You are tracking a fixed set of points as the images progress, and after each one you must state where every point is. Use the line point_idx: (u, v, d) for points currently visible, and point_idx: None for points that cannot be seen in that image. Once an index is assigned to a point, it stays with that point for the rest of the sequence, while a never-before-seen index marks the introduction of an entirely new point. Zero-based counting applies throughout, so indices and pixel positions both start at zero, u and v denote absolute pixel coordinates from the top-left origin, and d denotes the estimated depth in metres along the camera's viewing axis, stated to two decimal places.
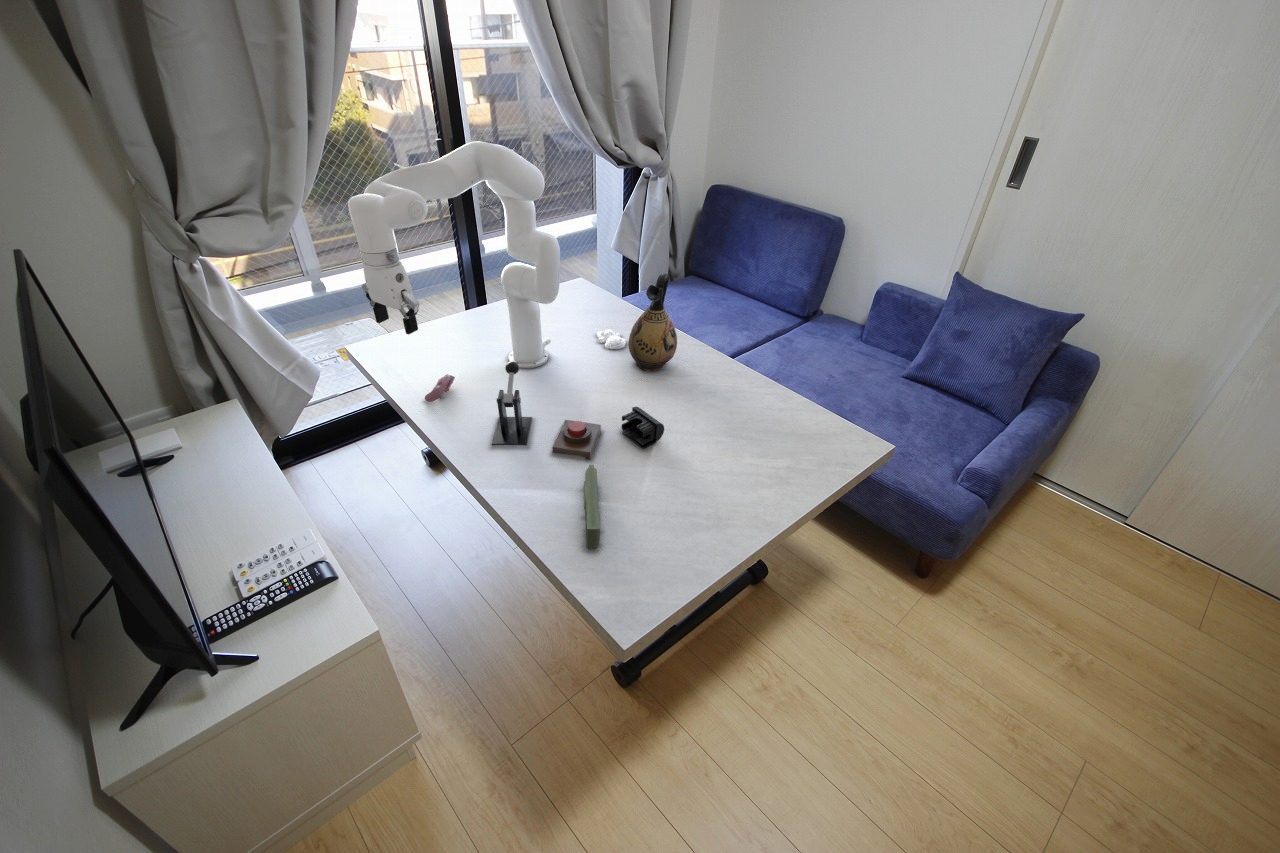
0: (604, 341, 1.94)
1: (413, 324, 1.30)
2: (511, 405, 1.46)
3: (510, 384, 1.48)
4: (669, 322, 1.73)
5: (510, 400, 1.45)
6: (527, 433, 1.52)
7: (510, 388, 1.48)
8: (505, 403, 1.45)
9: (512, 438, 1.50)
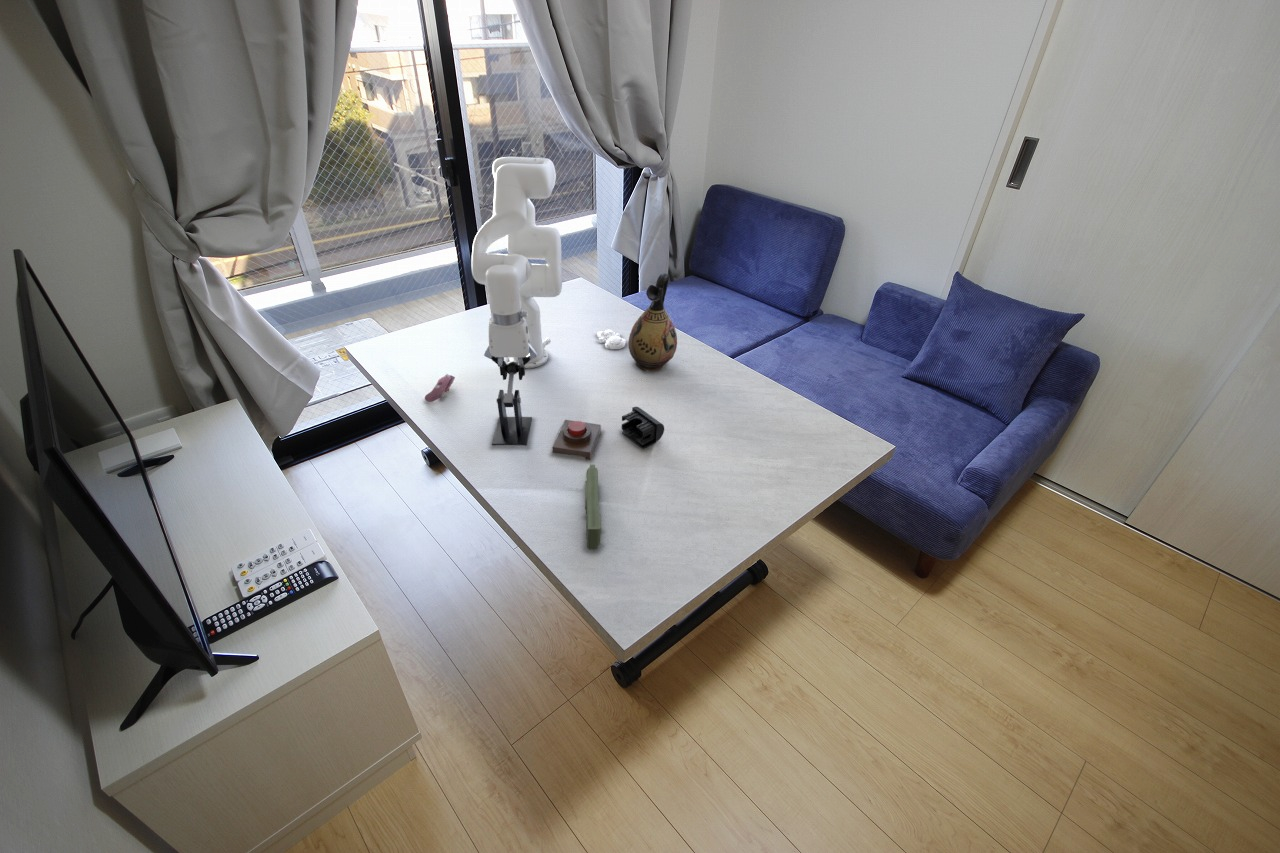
0: (604, 341, 1.94)
1: (524, 370, 1.52)
2: (511, 405, 1.46)
3: (510, 384, 1.48)
4: (669, 322, 1.73)
5: (510, 400, 1.45)
6: (527, 433, 1.52)
7: (510, 388, 1.48)
8: (505, 403, 1.45)
9: (512, 438, 1.50)
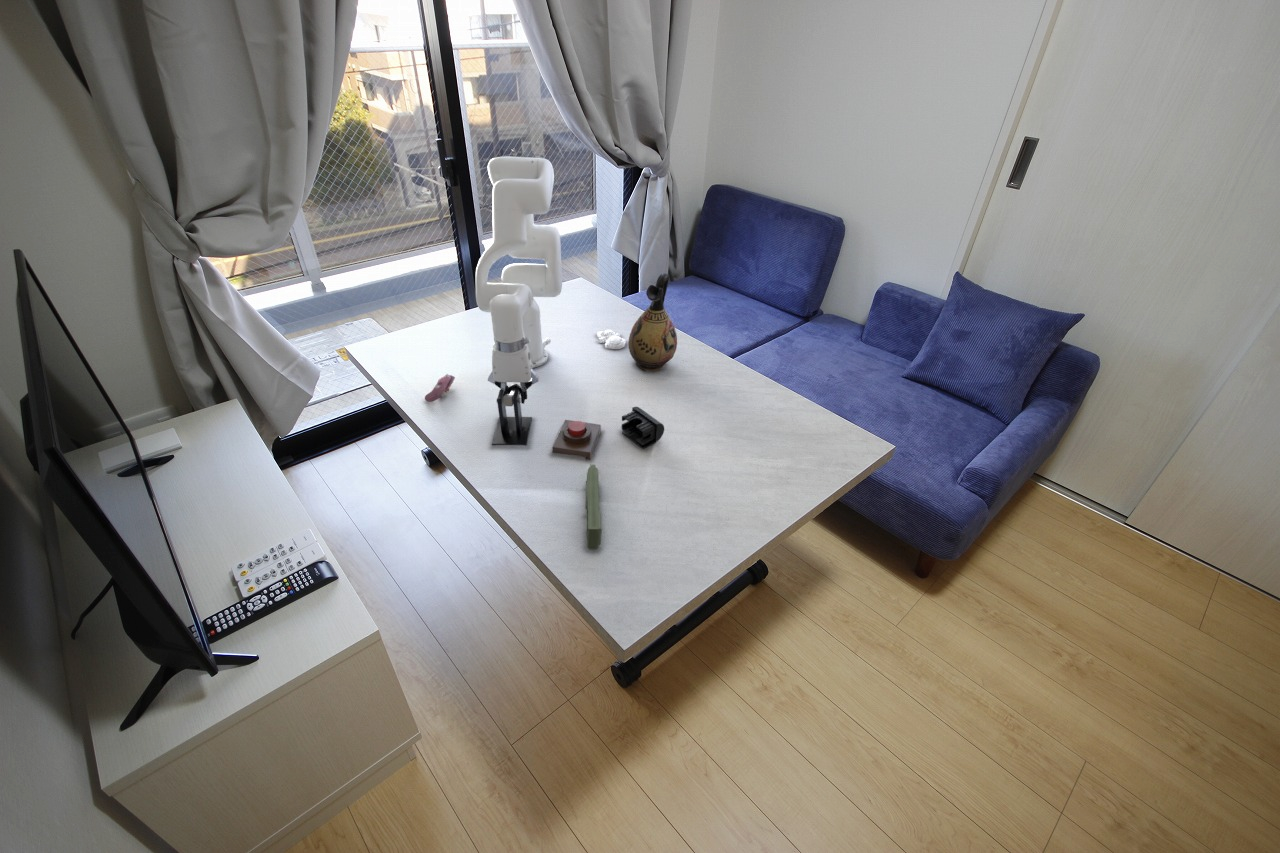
0: (604, 341, 1.94)
1: (526, 394, 1.57)
2: (510, 402, 1.45)
3: (511, 393, 1.51)
4: (669, 322, 1.73)
5: (510, 396, 1.45)
6: (527, 433, 1.52)
7: None
8: (505, 399, 1.45)
9: (512, 438, 1.50)
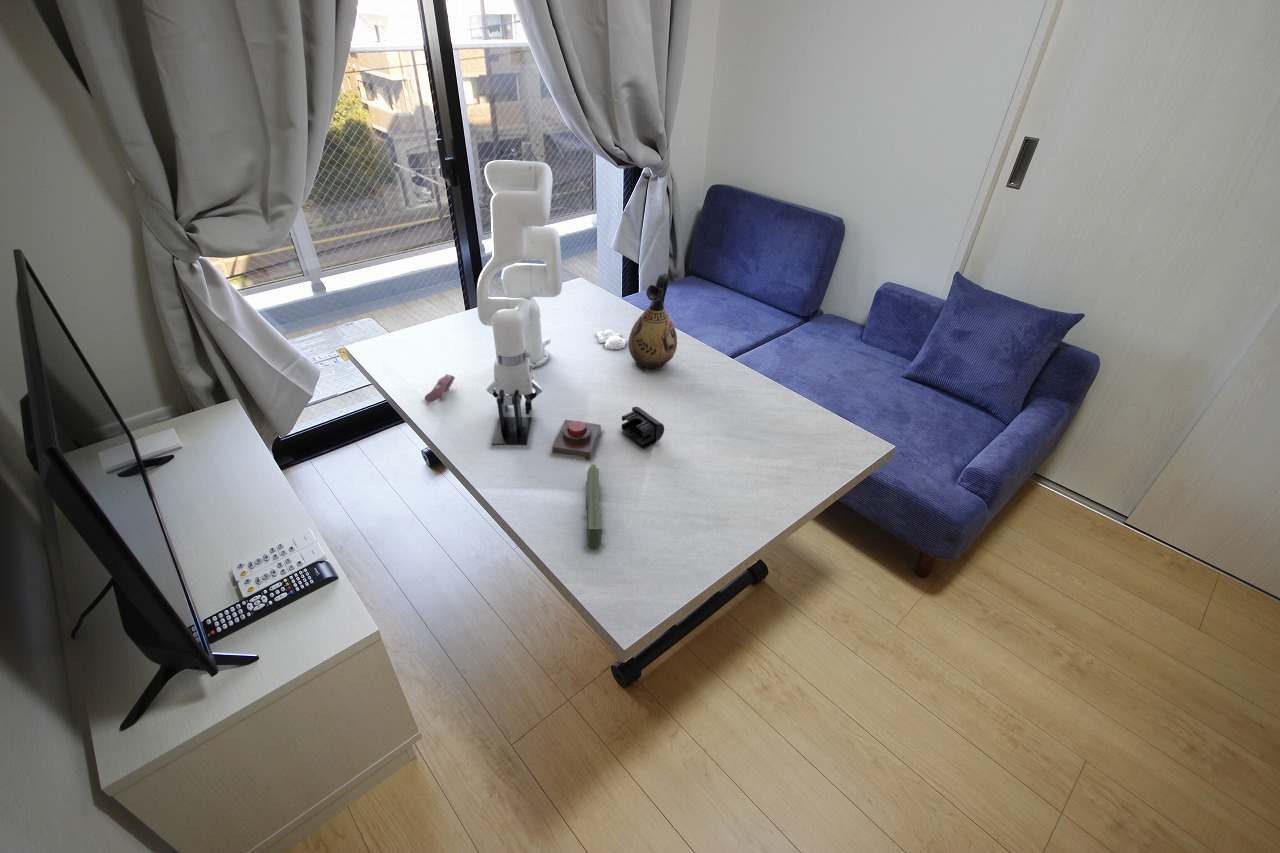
0: (604, 341, 1.94)
1: (531, 405, 1.59)
2: (510, 401, 1.45)
3: None
4: (669, 322, 1.73)
5: (510, 395, 1.46)
6: (527, 433, 1.52)
7: None
8: (505, 397, 1.45)
9: (512, 438, 1.50)
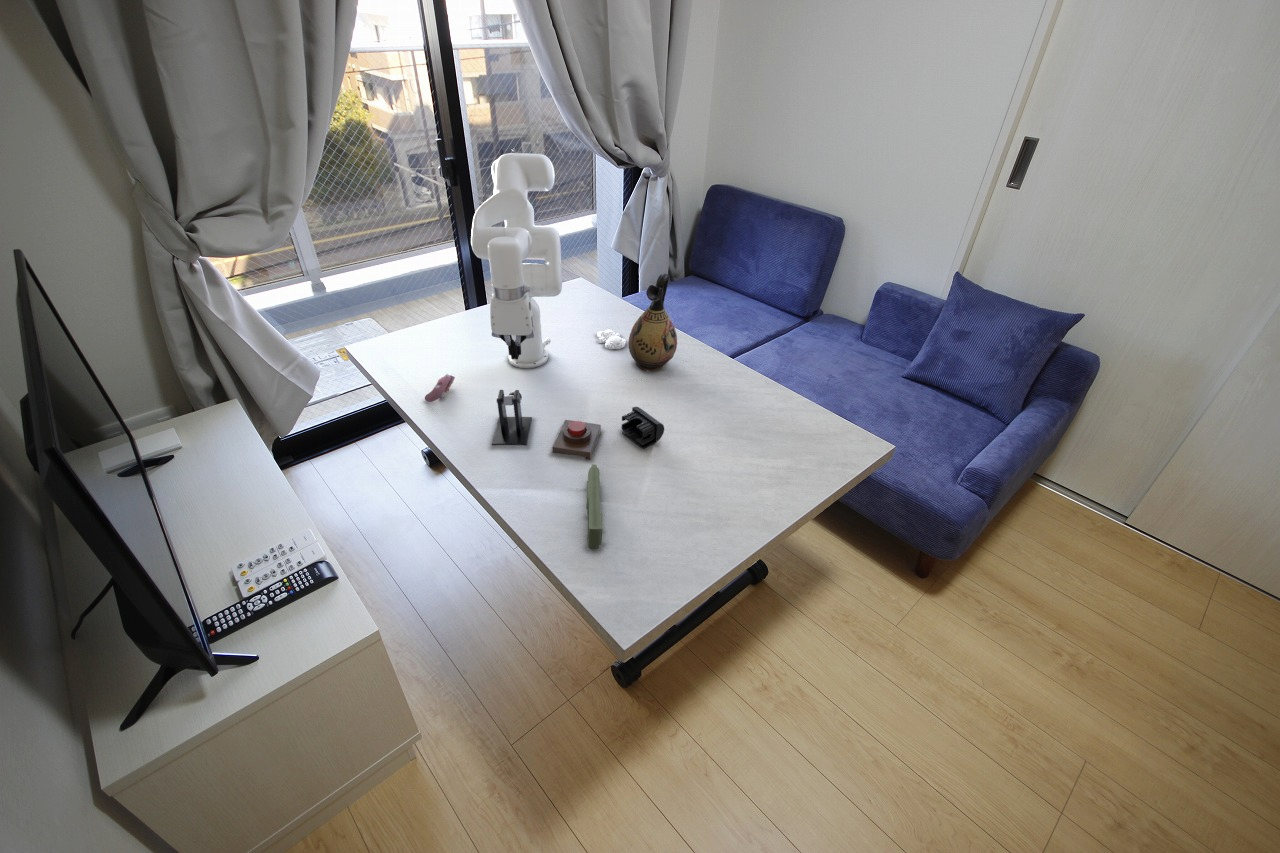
0: (604, 341, 1.94)
1: (520, 349, 1.47)
2: (510, 401, 1.45)
3: None
4: (669, 322, 1.73)
5: (510, 395, 1.46)
6: (527, 433, 1.52)
7: None
8: (505, 397, 1.45)
9: (512, 438, 1.50)
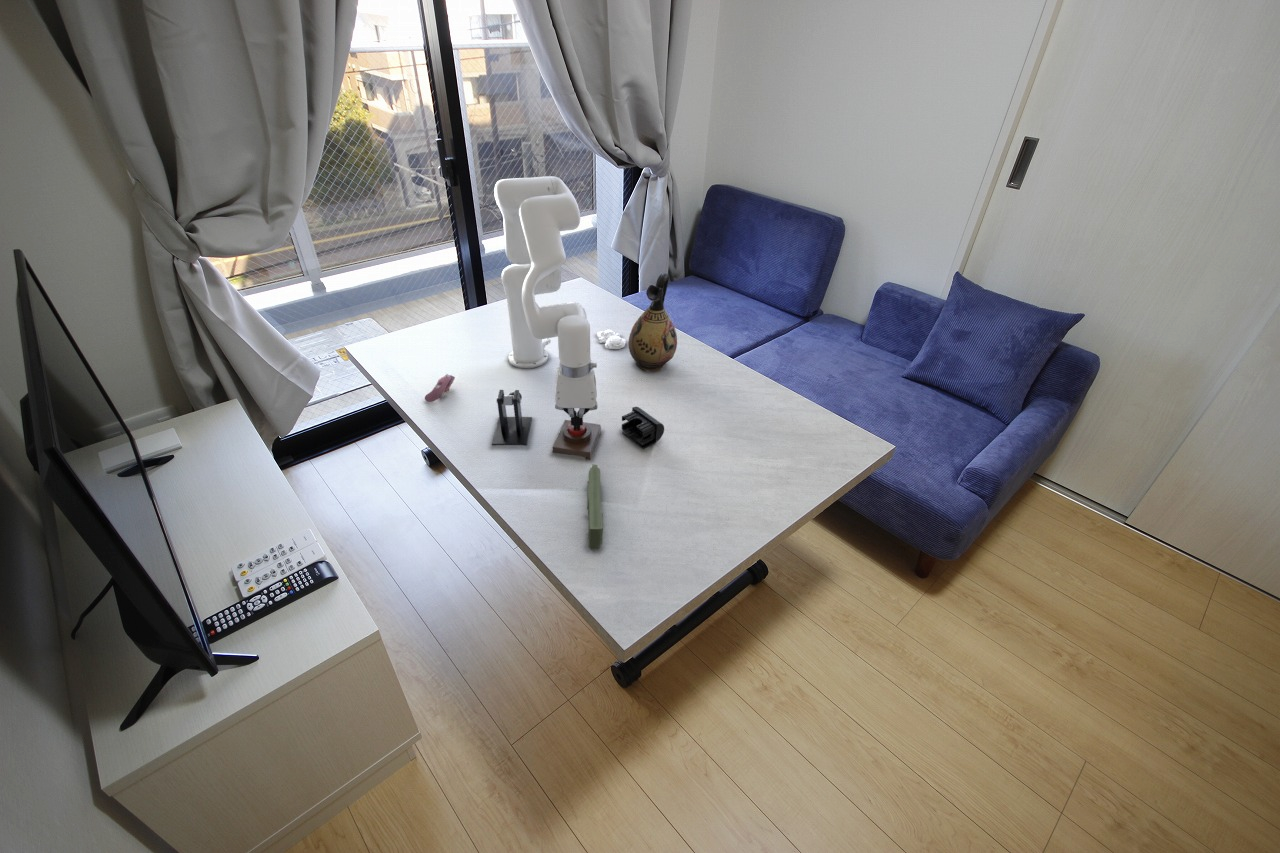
0: (604, 341, 1.94)
1: (582, 420, 1.46)
2: (510, 401, 1.45)
3: None
4: (669, 322, 1.73)
5: (510, 395, 1.46)
6: (527, 433, 1.52)
7: None
8: (505, 397, 1.45)
9: (512, 438, 1.50)
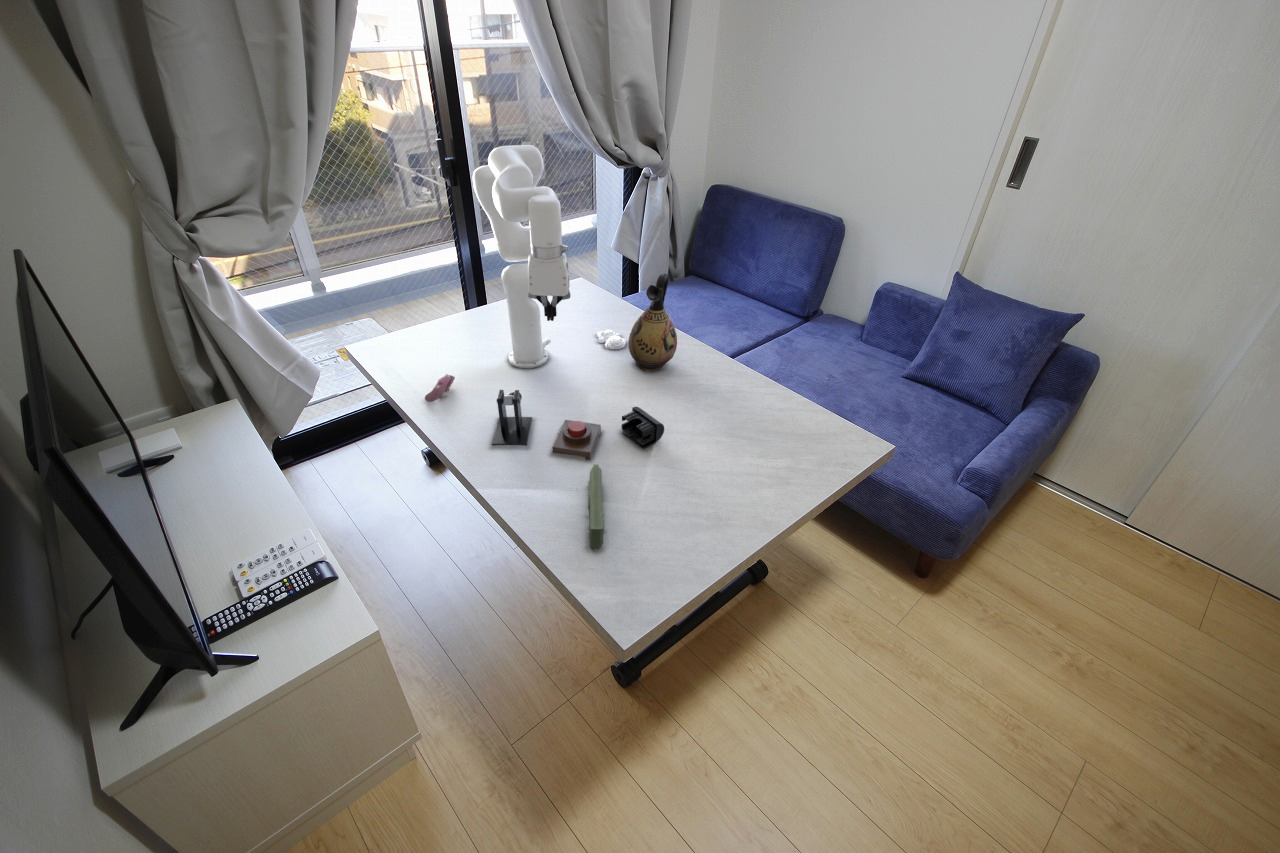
0: (604, 341, 1.94)
1: None
2: (510, 401, 1.45)
3: None
4: (669, 322, 1.73)
5: (510, 395, 1.46)
6: (527, 433, 1.52)
7: None
8: (505, 397, 1.45)
9: (512, 438, 1.50)
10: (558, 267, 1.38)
